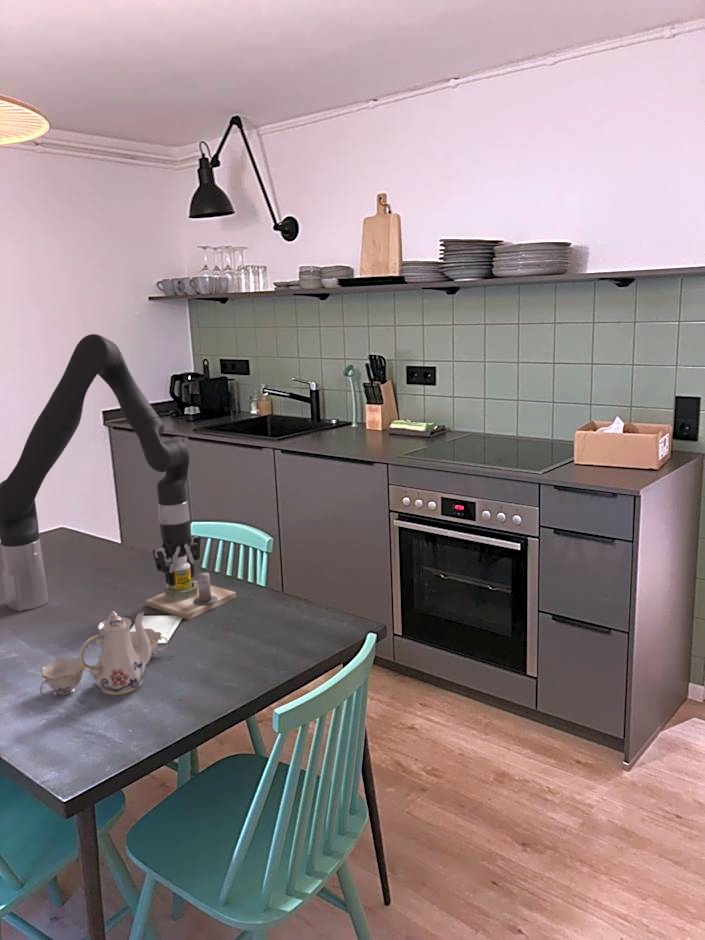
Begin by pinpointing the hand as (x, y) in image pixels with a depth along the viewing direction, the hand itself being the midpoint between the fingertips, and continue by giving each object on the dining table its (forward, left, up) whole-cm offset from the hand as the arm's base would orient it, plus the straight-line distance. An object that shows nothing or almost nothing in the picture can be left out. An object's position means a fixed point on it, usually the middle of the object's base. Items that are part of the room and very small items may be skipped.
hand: (180, 581), depth 197 cm
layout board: (0, -4, -5) cm, 6 cm away
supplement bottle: (0, 0, -3) cm, 3 cm away
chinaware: (-36, -21, -5) cm, 42 cm away
